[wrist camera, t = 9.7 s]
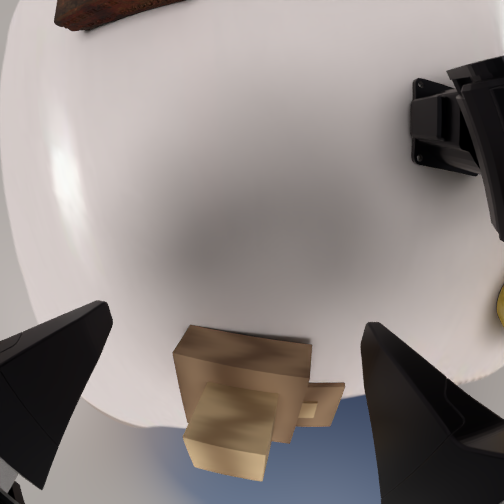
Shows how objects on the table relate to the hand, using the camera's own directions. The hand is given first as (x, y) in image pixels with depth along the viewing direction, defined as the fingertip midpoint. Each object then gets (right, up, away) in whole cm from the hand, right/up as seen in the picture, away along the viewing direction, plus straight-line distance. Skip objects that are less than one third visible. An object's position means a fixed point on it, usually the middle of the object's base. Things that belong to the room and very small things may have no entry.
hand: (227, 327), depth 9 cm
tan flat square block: (0, -10, +17) cm, 20 cm away
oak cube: (0, -11, +14) cm, 18 cm away
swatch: (+6, -15, +19) cm, 25 cm away
